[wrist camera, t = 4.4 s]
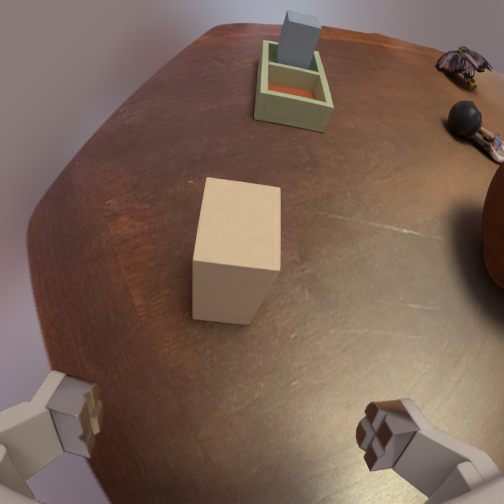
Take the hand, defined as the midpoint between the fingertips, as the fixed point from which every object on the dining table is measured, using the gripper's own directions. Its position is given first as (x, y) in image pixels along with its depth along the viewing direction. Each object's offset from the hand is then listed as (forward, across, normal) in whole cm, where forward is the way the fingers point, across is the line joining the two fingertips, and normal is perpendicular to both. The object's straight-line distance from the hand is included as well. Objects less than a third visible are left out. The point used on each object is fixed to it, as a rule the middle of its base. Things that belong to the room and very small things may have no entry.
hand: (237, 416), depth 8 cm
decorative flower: (+59, -52, -41) cm, 89 cm away
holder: (+35, -5, -18) cm, 39 cm away
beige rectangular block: (+15, 0, +2) cm, 15 cm away
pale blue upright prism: (+37, -5, -21) cm, 43 cm away
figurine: (+37, -42, -19) cm, 59 cm away
